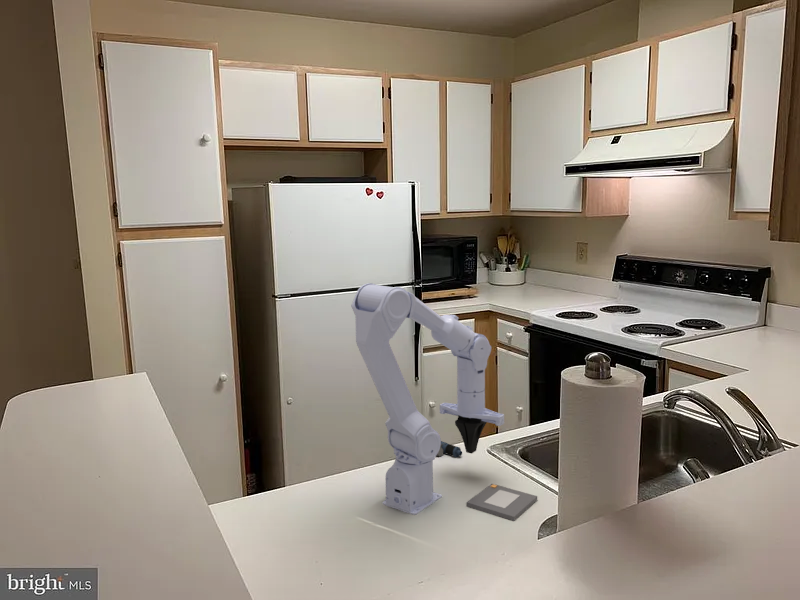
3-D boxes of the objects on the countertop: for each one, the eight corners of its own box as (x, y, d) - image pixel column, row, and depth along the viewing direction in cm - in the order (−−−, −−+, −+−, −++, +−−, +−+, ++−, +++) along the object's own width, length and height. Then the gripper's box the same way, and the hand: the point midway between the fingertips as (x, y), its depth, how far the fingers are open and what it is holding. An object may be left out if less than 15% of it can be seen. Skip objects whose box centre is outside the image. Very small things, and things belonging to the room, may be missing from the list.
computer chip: (513, 520, 113) (513, 515, 113) (466, 506, 119) (466, 501, 119) (537, 500, 121) (537, 495, 121) (491, 487, 127) (491, 482, 127)
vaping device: (426, 444, 151) (464, 457, 143) (411, 450, 147) (449, 463, 139) (425, 433, 151) (464, 446, 142) (410, 439, 147) (449, 452, 139)
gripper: (511, 389, 128) (511, 452, 130) (451, 379, 137) (452, 438, 139) (495, 398, 122) (494, 464, 124) (433, 387, 131) (434, 448, 133)
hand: (471, 451), depth 131 cm, fingers closed
